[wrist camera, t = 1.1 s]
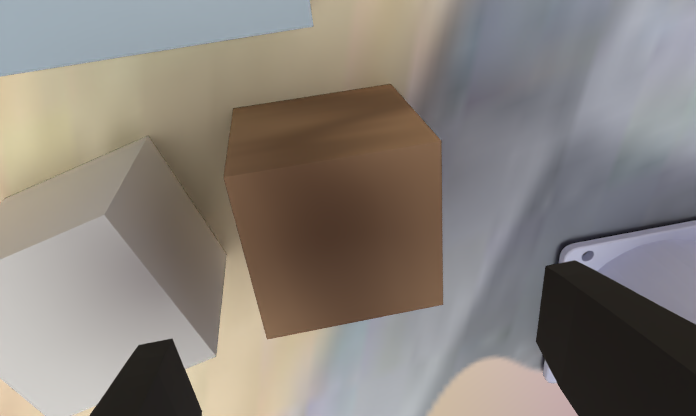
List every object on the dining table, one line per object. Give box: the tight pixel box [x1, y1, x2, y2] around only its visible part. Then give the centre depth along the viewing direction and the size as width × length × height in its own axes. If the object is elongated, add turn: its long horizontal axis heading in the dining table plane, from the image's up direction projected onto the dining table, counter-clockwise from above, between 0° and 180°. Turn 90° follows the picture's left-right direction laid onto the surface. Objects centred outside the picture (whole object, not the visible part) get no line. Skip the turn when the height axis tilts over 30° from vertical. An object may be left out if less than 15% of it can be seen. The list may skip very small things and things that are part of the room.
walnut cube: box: [224, 84, 443, 339], centre depth 14 cm, size 5×5×5 cm
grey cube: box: [0, 136, 227, 416], centre depth 14 cm, size 5×5×5 cm
